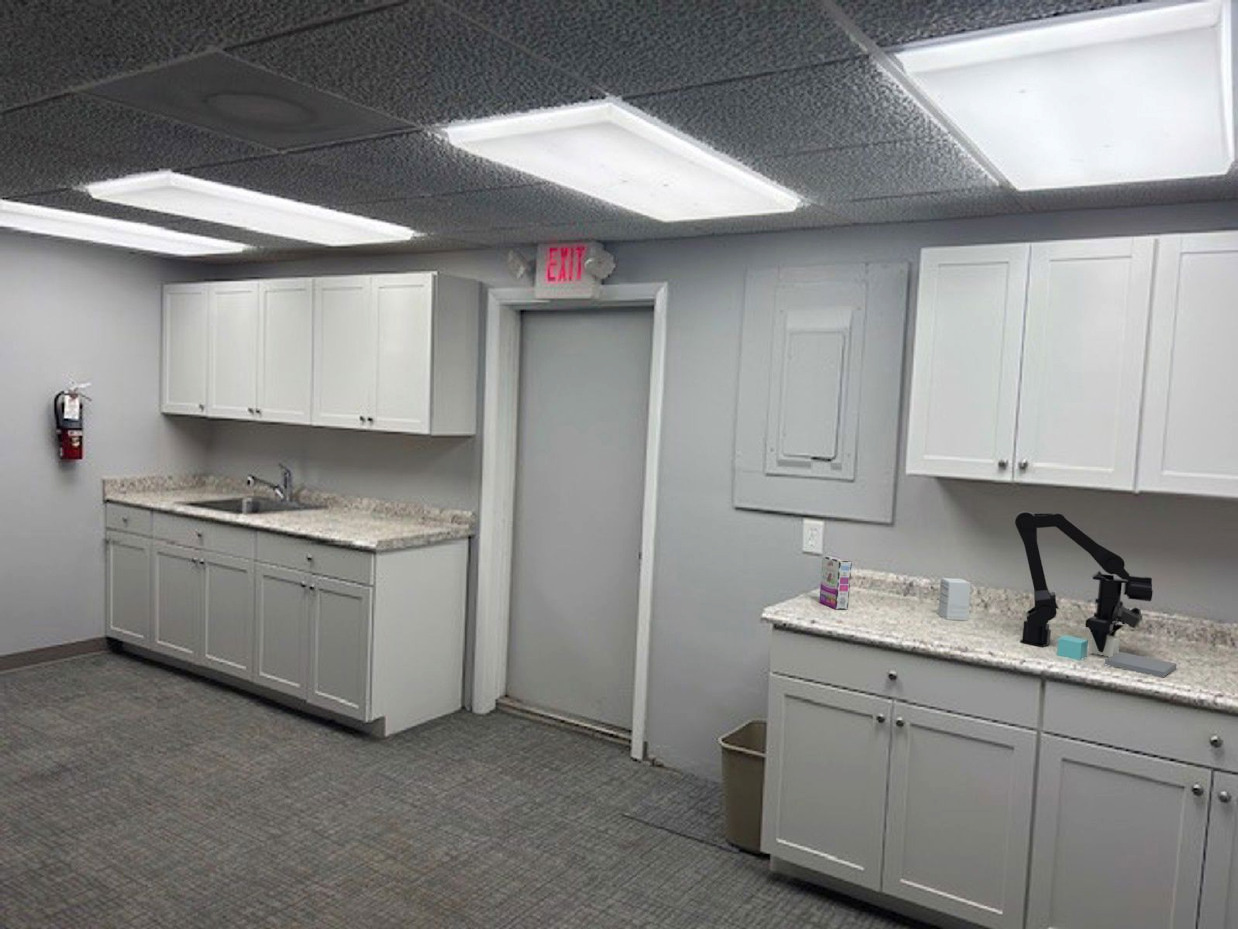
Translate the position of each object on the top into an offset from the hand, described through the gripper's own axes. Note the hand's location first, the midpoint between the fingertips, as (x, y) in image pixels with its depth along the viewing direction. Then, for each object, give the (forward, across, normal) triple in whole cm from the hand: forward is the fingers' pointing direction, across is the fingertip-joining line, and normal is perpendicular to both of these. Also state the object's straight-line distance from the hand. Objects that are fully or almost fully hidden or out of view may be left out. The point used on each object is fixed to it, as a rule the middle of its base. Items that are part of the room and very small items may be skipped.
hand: (1104, 650), depth 253 cm
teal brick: (+1, -12, +5) cm, 13 cm away
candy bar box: (+1, -15, +79) cm, 80 cm away
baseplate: (+1, -7, -11) cm, 13 cm away
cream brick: (+1, 0, 0) cm, 1 cm away
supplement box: (+1, +6, +47) cm, 47 cm away
